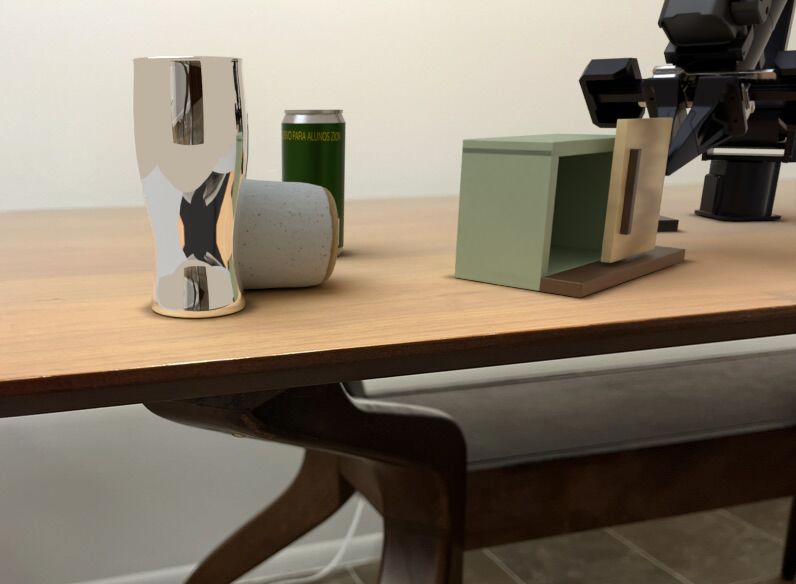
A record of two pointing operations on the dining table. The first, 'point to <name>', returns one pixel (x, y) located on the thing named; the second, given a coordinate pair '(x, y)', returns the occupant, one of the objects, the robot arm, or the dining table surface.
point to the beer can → (316, 153)
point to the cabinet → (542, 215)
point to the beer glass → (192, 178)
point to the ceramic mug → (286, 235)
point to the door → (635, 187)
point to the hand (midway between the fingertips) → (662, 172)
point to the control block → (667, 224)
